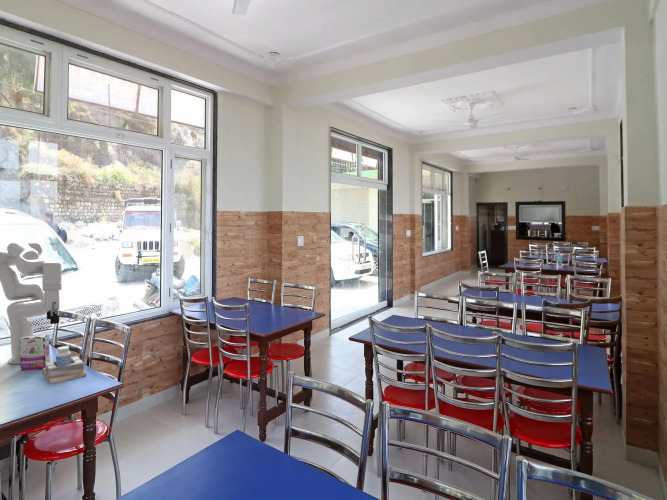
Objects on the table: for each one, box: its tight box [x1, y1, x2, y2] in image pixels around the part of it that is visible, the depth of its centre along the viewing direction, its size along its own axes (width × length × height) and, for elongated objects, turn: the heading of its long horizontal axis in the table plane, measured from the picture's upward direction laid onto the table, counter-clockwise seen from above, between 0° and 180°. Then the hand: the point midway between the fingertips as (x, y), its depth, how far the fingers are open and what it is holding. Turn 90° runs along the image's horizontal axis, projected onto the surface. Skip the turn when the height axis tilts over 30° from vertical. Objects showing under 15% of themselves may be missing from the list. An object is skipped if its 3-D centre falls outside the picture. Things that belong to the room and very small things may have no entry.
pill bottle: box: [55, 345, 72, 367], centre depth 190 cm, size 6×6×11 cm
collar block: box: [42, 355, 87, 385], centre depth 190 cm, size 20×14×6 cm
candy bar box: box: [19, 334, 51, 371], centre depth 196 cm, size 11×5×16 cm, turn 102°
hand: (52, 321), depth 191 cm, fingers open, 9 cm apart
